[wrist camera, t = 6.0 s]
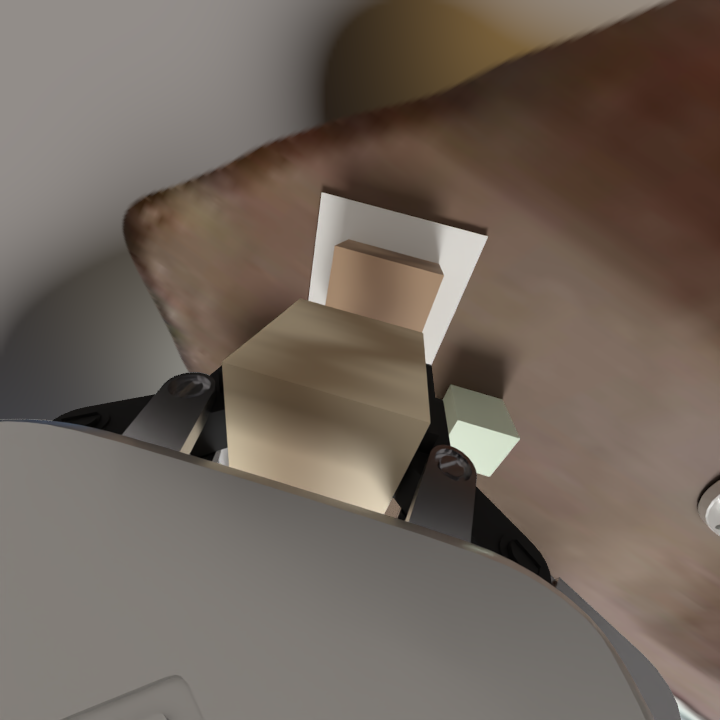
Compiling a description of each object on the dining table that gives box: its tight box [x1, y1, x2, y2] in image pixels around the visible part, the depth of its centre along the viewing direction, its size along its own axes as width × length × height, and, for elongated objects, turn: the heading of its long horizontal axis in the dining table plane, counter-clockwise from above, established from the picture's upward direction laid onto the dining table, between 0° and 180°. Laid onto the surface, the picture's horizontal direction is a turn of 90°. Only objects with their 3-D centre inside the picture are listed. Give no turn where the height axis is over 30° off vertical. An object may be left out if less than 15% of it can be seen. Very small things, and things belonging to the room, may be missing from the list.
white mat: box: [308, 192, 488, 365], centre depth 22 cm, size 12×12×1 cm
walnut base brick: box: [325, 239, 444, 332], centre depth 20 cm, size 7×7×4 cm
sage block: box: [443, 384, 520, 477], centre depth 24 cm, size 5×5×5 cm
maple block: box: [222, 298, 430, 514], centre depth 9 cm, size 5×5×5 cm
